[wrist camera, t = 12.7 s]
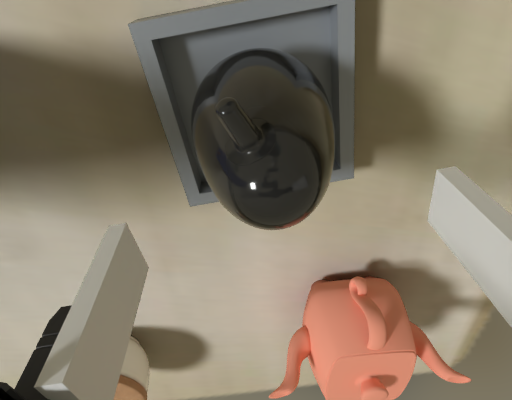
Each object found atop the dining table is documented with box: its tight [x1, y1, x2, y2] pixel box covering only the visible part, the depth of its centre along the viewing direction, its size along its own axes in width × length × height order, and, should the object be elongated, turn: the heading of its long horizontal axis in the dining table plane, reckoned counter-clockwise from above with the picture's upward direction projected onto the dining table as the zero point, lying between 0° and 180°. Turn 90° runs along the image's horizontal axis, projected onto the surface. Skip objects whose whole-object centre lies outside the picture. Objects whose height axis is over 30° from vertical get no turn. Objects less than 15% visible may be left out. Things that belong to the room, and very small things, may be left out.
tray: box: [128, 0, 355, 207], centre depth 28 cm, size 15×15×3 cm
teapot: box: [269, 276, 471, 400], centre depth 40 cm, size 15×17×13 cm
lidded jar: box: [113, 336, 150, 400], centre depth 43 cm, size 11×11×9 cm
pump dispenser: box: [191, 48, 335, 230], centre depth 22 cm, size 10×10×15 cm
